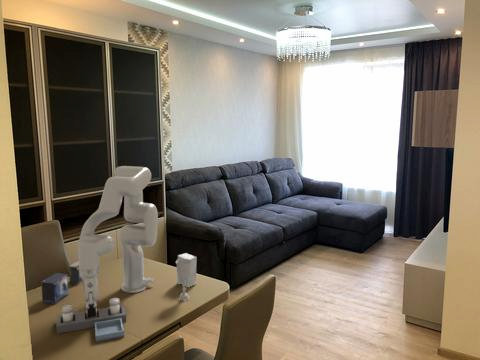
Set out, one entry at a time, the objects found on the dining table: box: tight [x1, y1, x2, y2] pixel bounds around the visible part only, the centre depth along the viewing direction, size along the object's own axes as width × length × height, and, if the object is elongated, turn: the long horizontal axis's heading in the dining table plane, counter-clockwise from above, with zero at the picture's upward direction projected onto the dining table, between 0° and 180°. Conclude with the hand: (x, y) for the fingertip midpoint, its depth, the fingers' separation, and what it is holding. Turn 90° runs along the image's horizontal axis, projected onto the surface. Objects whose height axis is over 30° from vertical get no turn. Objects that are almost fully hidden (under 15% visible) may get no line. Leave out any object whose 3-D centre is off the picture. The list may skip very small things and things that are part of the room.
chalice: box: [175, 259, 192, 301], centre depth 184 cm, size 7×7×18 cm
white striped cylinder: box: [85, 301, 98, 319], centre depth 164 cm, size 4×4×8 cm
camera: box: [68, 260, 83, 286], centre depth 203 cm, size 11×6×10 cm, turn 163°
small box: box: [41, 272, 69, 306], centre depth 183 cm, size 11×6×10 cm, turn 168°
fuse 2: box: [108, 297, 121, 315], centre depth 167 cm, size 4×4×8 cm
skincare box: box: [176, 252, 198, 288], centre depth 199 cm, size 8×6×15 cm
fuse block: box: [55, 304, 127, 334], centre depth 164 cm, size 26×9×3 cm, turn 111°
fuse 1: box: [61, 304, 74, 323], centre depth 160 cm, size 4×4×8 cm
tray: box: [94, 318, 125, 343], centre depth 156 cm, size 10×10×2 cm
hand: (91, 312), depth 164 cm, fingers open, 6 cm apart
